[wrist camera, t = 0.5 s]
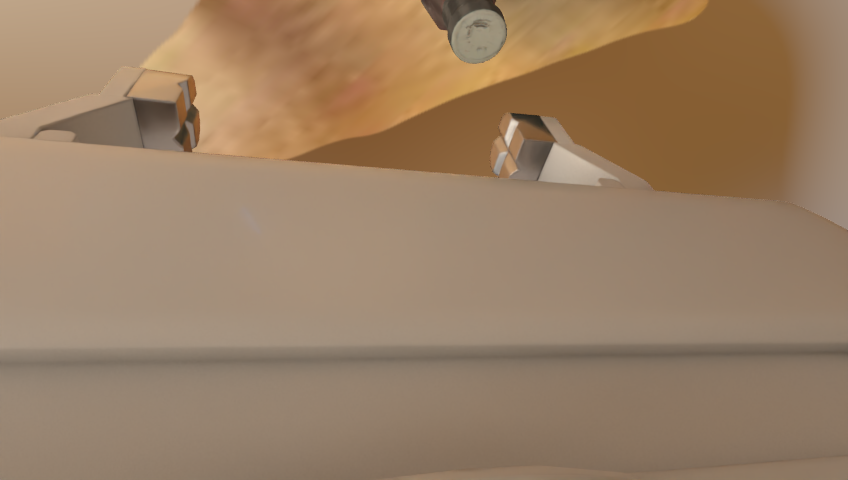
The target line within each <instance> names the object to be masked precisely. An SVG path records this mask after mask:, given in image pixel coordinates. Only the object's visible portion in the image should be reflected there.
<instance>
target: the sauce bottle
mask: <svg viewBox="0 0 848 480" xmlns="http://www.w3.org/2000/svg"><path fill="white" fill-rule="evenodd" d="M421 2H422V4H423V6H424V7H425V9H426V10H427V11H428V13H429V14H430V16H431V17H432V19H433V20H434V22H435V23H436V25H437V26H438V28H439V29H441V30H448V40H449V43H450V45H451V47H452V50H453V51H454V53H455V55H456V56H457V57H458V58H459V59H460V60H462V61H464V62H467V63H472V64H477V63H483V62H485V61H488V60H490V59H491V58H493V57H494V56H495V55H496V54H497V53H498V52H499V51H500V49H501V48H502V46H503V45H504V43H505V40H506V36H507V28H506V23H505V20H504V17H503V15H502V12H501V11H500V9H499V8H498V7H497V6H495V2H496V0H421Z"/></svg>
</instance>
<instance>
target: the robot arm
mask: <svg viewBox="0 0 848 480" xmlns="http://www.w3.org/2000/svg"><path fill="white" fill-rule="evenodd" d="M195 97H196V87H195V81H194V79H193V76H192V75H184V74H177V73H169V72H162V71H155V70H147V69H145V68H135V67H124V66H122V67H120V68H119V70H118V71H117V72H116V73H115V75H114V76H113V77H112V78H111V79H110V81H109V82H108V83H107V84H106V86H105V87H104V88H103V89H102V91H101V92H100V93H99V94H88V95H84V96H81V97H78V98H74V99H70V100H67V101H63V102H60V103H56V104H53V105H49V106H46V107H42V108H39V109H35V110H32V111H28V112H25V113H21V114H18V115H15V116H11V117H7V118H4V119H0V480H848V230H846V229H845V228H843V227H841V226H839V225H837V224H835V223H834V222H832V221H830V220H828V219H826V218H824V217H822V216H820V215H817V214H815V213H813V212H811V211H809V210H807V209H805V208H803V207H800V206H797V205H795V204H792V203H788V202H783V201H775V200H759V199H748V198H735V197H723V196H711V195H699V194H687V193H675V192H663V191H654V190H653V189H652V187H651V186H650V185H649V184H648V183H647V182H646V181H645V180H643V179H641V178H639V177H637V176H636V175H634V174H632V173H630V172H628V171H626V170H625V169H623V168H621V167H619V166H617V165H615V164H613V163H612V162H610V161H608V160H606V159H604V158H603V157H601V156H599V155H597V154H595V153H593V152H592V151H590V150H588V149H586V148H584V147H582V146H581V145H575V144H574V142H573V141H572V140H571V138H570V137H569V136H568V134H567V133H566V131H565V130H564V129H563V127H562V126H561V124H560V123H559V122H558V120H557V119H556V118H553V117H541V116H537V115H526V114H515V113H506V114H504V115H503V117H502V119H501V120H500V124H499V126H498V128H499V131H500V134H501V135H500V136H499V137H498V138H497V139H496V140H494V141H493V145H492V148H491V151H490V166H491V169H492V172H493V173H495V174H496V175H498V178H495V177H483V176H470V175H459V174H447V173H435V172H423V171H411V170H399V169H387V168H374V167H363V166H350V165H338V164H326V163H315V162H303V161H291V160H279V159H267V158H255V157H243V156H231V155H219V154H207V153H195V152H192V149H193V148H195V147H197V144H198V141H199V134H200V118H199V111H198V109H197V108H196V107H195V106H194V105H193V104H192V103H193V101H194V99H195Z"/></svg>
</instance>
